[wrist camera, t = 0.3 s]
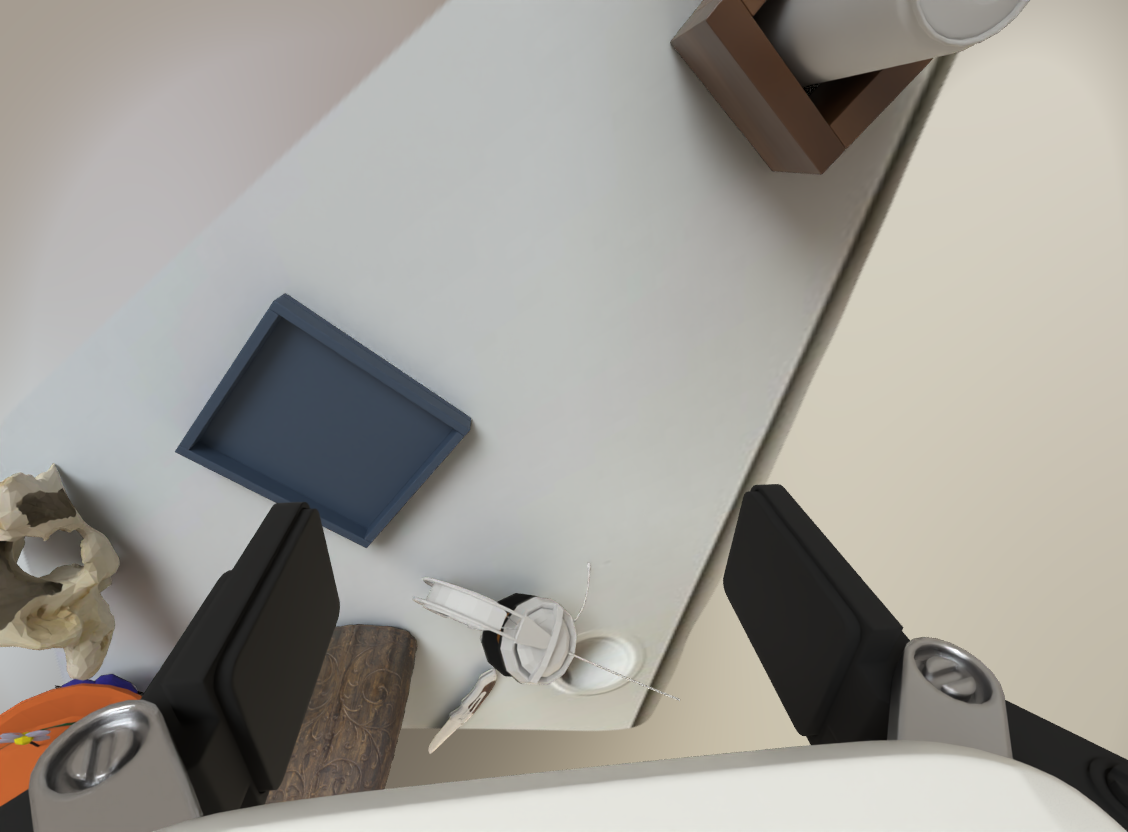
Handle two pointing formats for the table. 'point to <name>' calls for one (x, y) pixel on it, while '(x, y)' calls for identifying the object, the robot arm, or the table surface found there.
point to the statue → (352, 715)
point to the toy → (50, 724)
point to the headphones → (515, 630)
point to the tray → (323, 424)
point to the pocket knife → (466, 708)
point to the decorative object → (53, 577)
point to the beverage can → (875, 32)
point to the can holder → (781, 89)
